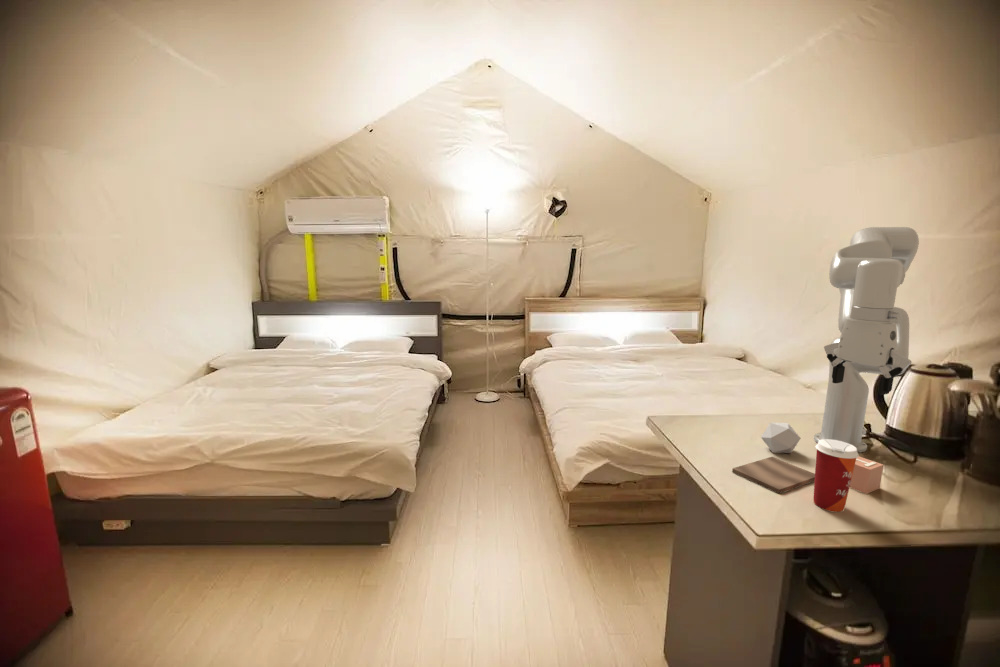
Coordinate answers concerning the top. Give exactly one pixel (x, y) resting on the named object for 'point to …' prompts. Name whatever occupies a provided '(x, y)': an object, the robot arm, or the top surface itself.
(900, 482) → the top surface
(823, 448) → the paper cup
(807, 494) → the top surface
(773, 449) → the die
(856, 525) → the top surface
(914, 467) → the top surface
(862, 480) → the lettered cube
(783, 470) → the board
